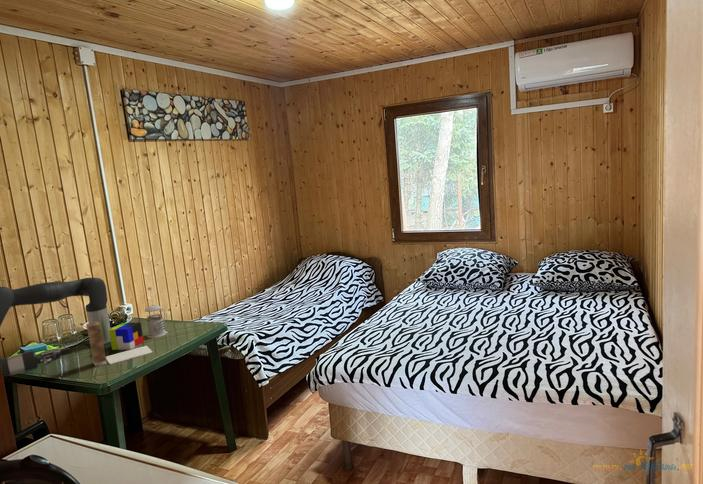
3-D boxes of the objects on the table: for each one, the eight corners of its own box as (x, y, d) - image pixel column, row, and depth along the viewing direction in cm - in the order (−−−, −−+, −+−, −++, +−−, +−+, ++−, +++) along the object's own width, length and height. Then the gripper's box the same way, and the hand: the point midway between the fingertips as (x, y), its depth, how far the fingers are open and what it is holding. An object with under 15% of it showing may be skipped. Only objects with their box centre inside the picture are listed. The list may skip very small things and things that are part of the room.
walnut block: (95, 366, 209) (88, 326, 206) (93, 362, 213) (86, 324, 211) (106, 363, 211) (99, 324, 209) (104, 359, 216) (97, 321, 213)
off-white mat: (109, 364, 209) (109, 363, 209) (105, 357, 219) (105, 356, 219) (152, 352, 219) (152, 351, 219) (146, 346, 229) (146, 345, 229)
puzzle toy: (130, 349, 227) (127, 329, 226) (112, 349, 229) (108, 329, 228) (143, 341, 237) (140, 322, 235) (125, 342, 239) (122, 322, 237)
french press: (142, 336, 245) (135, 289, 241) (162, 329, 255) (155, 283, 251) (155, 338, 240) (147, 290, 236) (174, 331, 249) (167, 284, 246)
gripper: (21, 358, 190) (71, 345, 200) (20, 349, 200) (67, 338, 210) (24, 376, 191) (74, 362, 201) (23, 366, 202) (70, 354, 211)
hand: (70, 350), depth 205 cm, fingers closed
